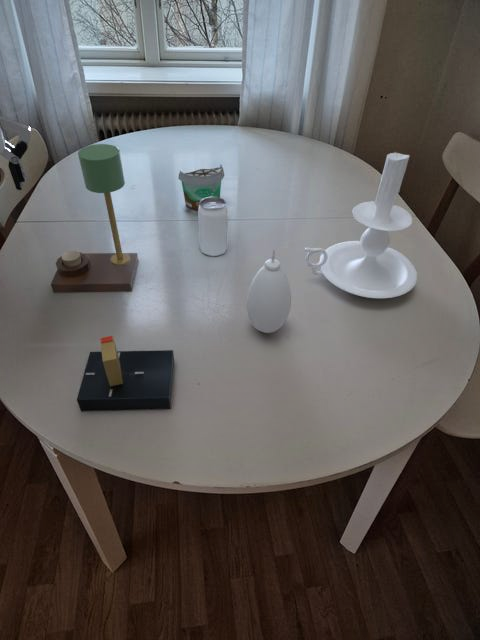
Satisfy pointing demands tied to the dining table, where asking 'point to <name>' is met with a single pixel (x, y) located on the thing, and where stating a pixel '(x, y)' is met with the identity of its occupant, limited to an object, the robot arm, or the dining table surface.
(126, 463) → the dining table surface
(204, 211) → the can
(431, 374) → the dining table surface
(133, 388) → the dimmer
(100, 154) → the lamp
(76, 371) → the dining table surface
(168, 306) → the dining table surface
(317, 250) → the candlestick
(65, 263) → the lamp button
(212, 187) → the food container
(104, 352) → the yellow upright block
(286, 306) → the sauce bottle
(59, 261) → the lamp base
